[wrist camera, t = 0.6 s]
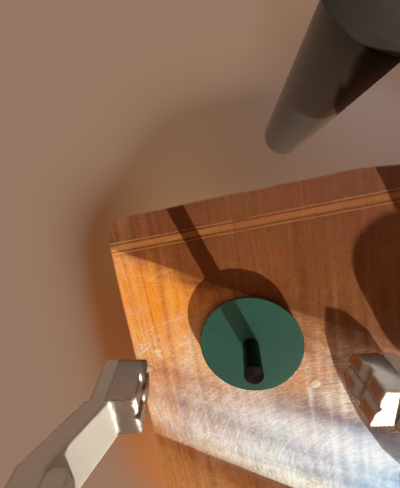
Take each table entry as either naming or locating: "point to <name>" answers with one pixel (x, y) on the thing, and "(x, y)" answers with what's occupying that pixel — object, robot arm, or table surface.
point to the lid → (252, 343)
